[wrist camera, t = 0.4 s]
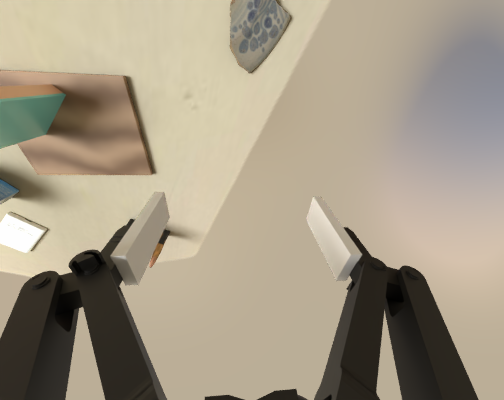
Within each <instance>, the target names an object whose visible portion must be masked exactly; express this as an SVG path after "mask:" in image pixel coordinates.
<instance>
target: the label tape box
mask: <svg viewBox="0 0 504 400" xmlns="http://www.w3.org/2000/svg"><path fill="white" fill-rule="evenodd" d="M18 192H19V190H18V189H16V188H14V187H13V186H11V185H9V184H8V183H6V182H4V181H3V180H1V179H0V204H2V203H4V202H5V201H7V200H9V199H11V198H12V197H13V196H14V195H15V194H17V193H18Z"/></svg>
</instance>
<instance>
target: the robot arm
mask: <svg viewBox="0 0 504 400" xmlns="http://www.w3.org/2000/svg"><path fill="white" fill-rule="evenodd" d="M169 218H170V216H169V212H168V207H167V203H166V198H165V193H164V192H154V194H153V195H152V196H151V198H150V199H149V201H148V202H147V204H146V205H145V207H144V208H143V209H142V211H141V212H140V214H139V215H138V217H137V218H136V220H135V221H134V222H133V224H132V225H131V226H123V227H122V228H120V229H119V230H117V232H116V233H115V234H114V235H113V238H111V239H110V241H109V242H108V243H107V245H106V246H105V247H104V249H103V250H102V251H101V253H100V252H99V251H98V250H87V251H84V252H82V253H80V254H78V255H76V256H75V257H74V258H73V259H72V260H71V261H70V262H69V268H70V269H71V270H72V273H68V274H64V275H59V274H58V273H57V272H55V271H47V272H43V273H40V274H38V275H36V276H34V277H32V278H31V279H29V280H28V281H27V282H26V283H25V284H24V285H23V287H22V289H21V291H20V293H19V296H18V298H17V301H16V303H15V305H14V308H13V310H12V312H11V315H10V317H9V319H8V322H7V324H6V327H5V329H4V331H3V334H2V336H1V338H0V400H65V398H66V391H67V384H68V378H69V372H70V365H71V358H72V352H73V345H74V339H75V332H76V326H77V319H78V312H79V308H81V307H83V308H84V312H85V316H86V320H87V324H88V329H89V333H90V337H91V341H92V346H93V350H94V354H95V358H96V362H97V367H98V370H99V375H100V379H101V383H102V387H103V392H104V395H105V400H167V398H166V396H165V394H164V392H163V389H162V387H161V385H160V382H159V380H158V377H157V375H156V372H155V370H154V368H153V365H152V363H151V360H150V358H149V356H148V353H147V351H146V348H145V346H144V344H143V341H142V339H141V336H140V334H139V332H138V329H137V327H136V325H135V322H134V320H133V317H132V315H131V312H130V310H129V308H128V305H127V303H126V300H125V298H124V296H123V293H122V291H121V288H120V287H119V285H120V283H121V282H122V280H123V281H124V283H125V285H138V284H139V283H140V280H141V278H142V276H143V274H144V272H145V270H146V268H147V265H148V263H149V261H150V259H151V257H152V255H153V252H154V250H155V248H156V246H157V244H158V242H159V240H160V237H161V235H162V233H163V231H164V229H165V227H166V224H167V222H168V220H169ZM306 220H307V222H308V224H309V226H310V228H311V231H312V233H313V235H314V236H315V239H316V241H317V243H318V245H319V247H320V249H321V251H322V253H323V255H324V257H325V259H326V261H327V263H328V265H329V267H330V269H331V271H332V273H333V275H334V278H335V280H336V281H338V280H347V278H348V277H349V275H350V277H351V279H352V282H351V283H350V284H349V286H348V288H347V290H348V293H347V297H346V300H345V304H344V307H343V310H342V314H341V317H340V321H339V324H338V327H337V331H336V335H335V338H334V341H333V345H332V348H331V352H330V355H329V358H328V362H327V365H326V369H325V372H324V376H323V379H322V382H321V385H320V387H319V389H318V391H317V394H316V396H315V398H314V400H380V399H379V397H378V396H377V393H376V387H377V377H378V367H379V357H380V347H381V337H382V327H383V318H384V309H385V314H386V320H387V325H388V330H389V335H390V340H391V344H392V349H393V355H394V360H395V365H396V370H397V375H398V380H399V385H400V390H401V395H402V400H478V398H477V395H476V393H475V391H474V388H473V386H472V384H471V381H470V379H469V377H468V375H467V372H466V370H465V368H464V366H463V363H462V361H461V359H460V356H459V354H458V352H457V350H456V347H455V345H454V343H453V341H452V338H451V336H450V334H449V332H448V329H447V327H446V325H445V323H444V320H443V318H442V316H441V313H440V311H439V309H438V307H437V305H436V302H435V300H434V297H433V295H432V293H431V291H430V288H429V286H428V284H427V282H426V279H425V278H424V276H423V275H422V274H421V273H420V272H419V271H418V270H416V269H414V268H412V267H410V266H402V267H401V268H400V269H399V270H397V269H393V268H390V267H387V266H386V265H385V264H384V263H383V262H382V261H380V260H378V259H377V258H374V257H372V256H371V255H370V254H369V252H368V251H367V250H366V248H365V247H364V246H363V244H362V243H361V242H360V240H359V239H358V238H357V236H356V235H355V234H354V232H353V231H351V230H350V229H349V228H345V227H344V228H343V227H342V226H341V224H340V222H339V221H338V220H337V218H336V217H335V215H334V214H333V213H332V211H331V210H330V208H329V207H328V205H327V204H326V203H325V201H324V200H323V198H322V197H313V199H312V203H311V206H310V209H309V212H308V215H307V218H306ZM205 400H244V399H240V398H237V397H234V396H230V395H222V396H210V397H205ZM258 400H307V399H306V398H304V397H302V396H300V395H297V390H296V389H291V390H280V391H274V392H272V393H270V394H268V395H266V396H263V397H261V398H259V399H258Z"/></svg>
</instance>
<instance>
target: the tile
mask: <svg viewBox="0 0 504 400" xmlns="http://www.w3.org/2000/svg"><path fill="white" fill-rule="evenodd" d="M65 96H66V95H65V94H64V93H63V92H61V91H60V90H59V89H57V88H56V87H55V86H53V85H52V84H47V85H22V86H0V149H1V148H4V147H7V146H10V145H14V144H17V143H20V142H24V141H27V140H30V139H33V138H37V137H40V136H43V135H46V133H47V131H48V129H49V127H50V125H51V123H52V122H53V120H54V118H55V116H56V114H57V112H58V110H59V108H60V106H61V104H62V102H63V100H64V98H65Z"/></svg>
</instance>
